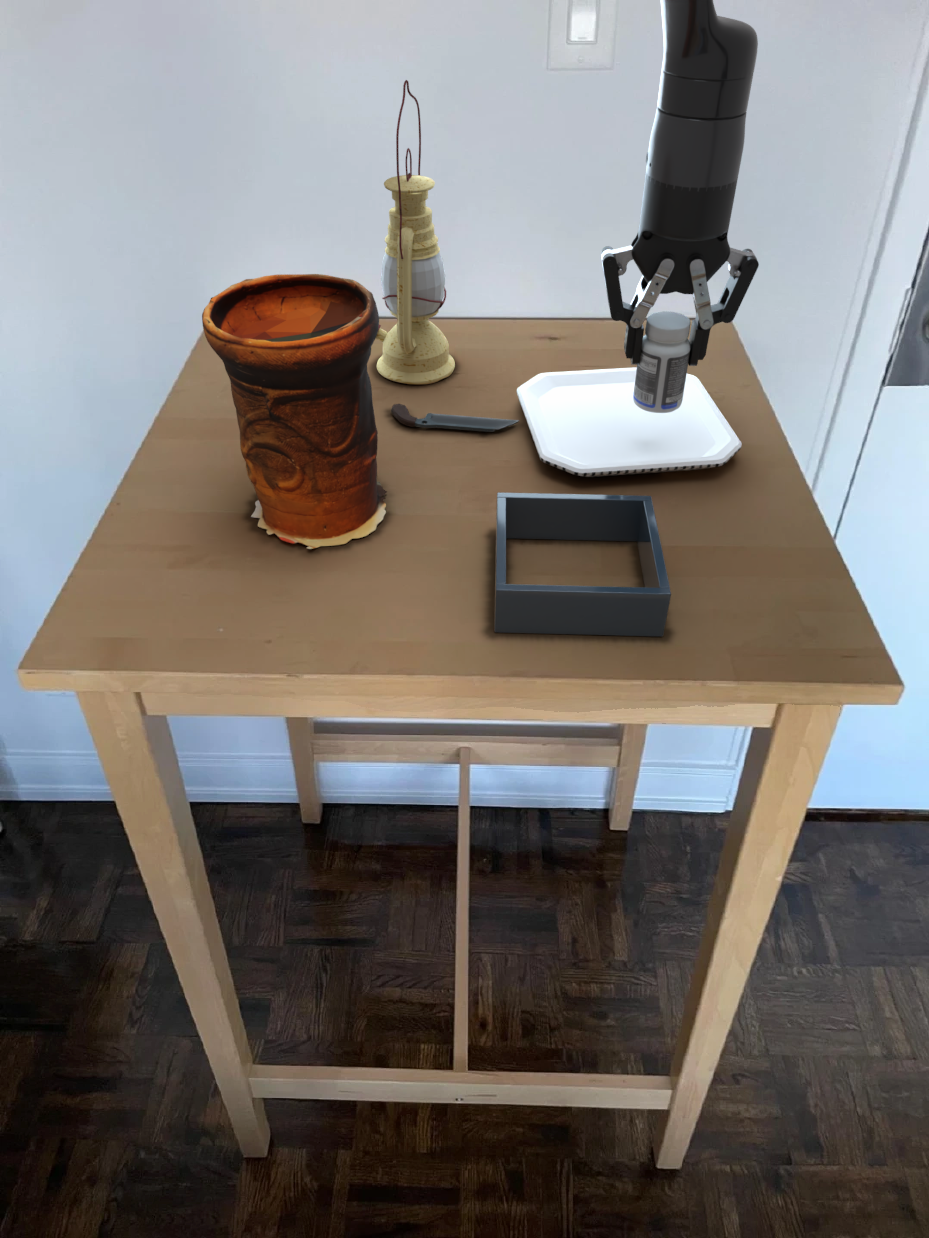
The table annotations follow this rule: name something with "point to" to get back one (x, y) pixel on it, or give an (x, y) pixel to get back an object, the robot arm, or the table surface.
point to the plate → (621, 425)
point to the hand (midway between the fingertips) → (663, 361)
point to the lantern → (412, 282)
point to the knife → (450, 421)
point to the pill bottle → (663, 363)
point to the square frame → (581, 604)
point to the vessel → (303, 401)
